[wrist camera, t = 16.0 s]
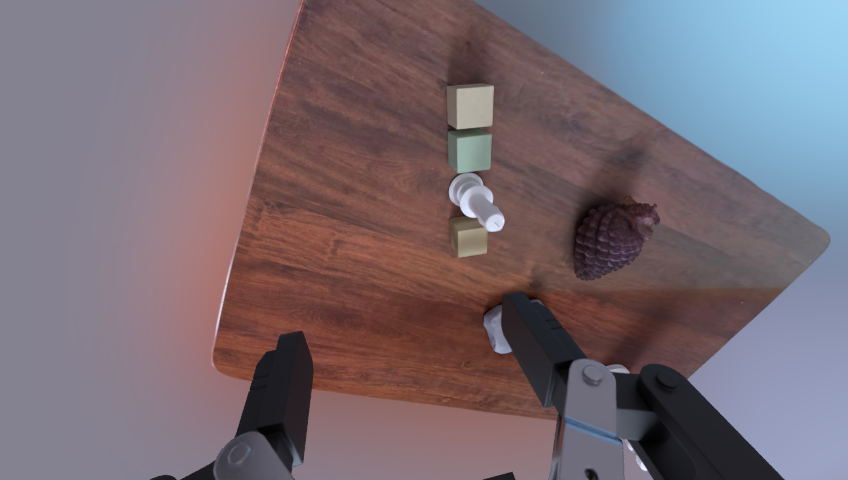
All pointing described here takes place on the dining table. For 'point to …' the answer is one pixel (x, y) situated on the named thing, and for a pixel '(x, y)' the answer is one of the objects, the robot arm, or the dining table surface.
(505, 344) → the stone block
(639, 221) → the pine cone
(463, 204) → the candle
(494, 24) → the dining table surface
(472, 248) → the block
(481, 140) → the block
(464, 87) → the block
